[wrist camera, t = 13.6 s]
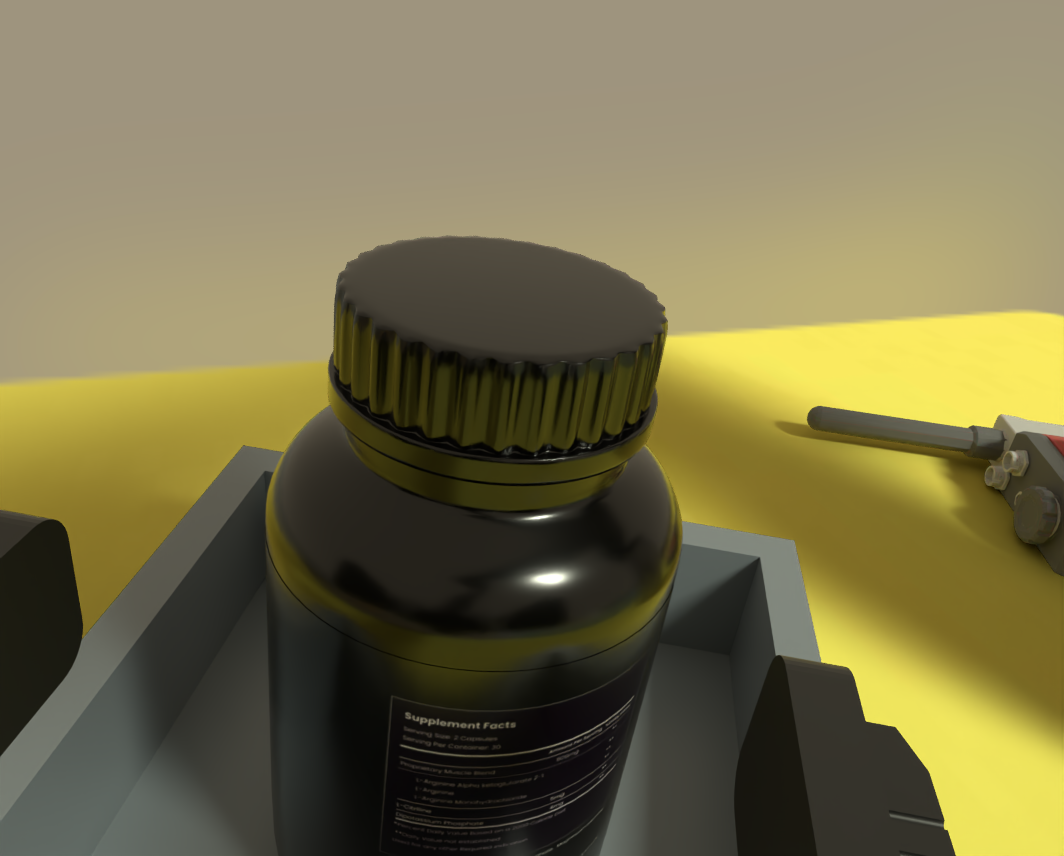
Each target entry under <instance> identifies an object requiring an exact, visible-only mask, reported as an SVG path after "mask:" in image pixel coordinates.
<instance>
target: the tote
mask: <svg viewBox="0 0 1064 856" xmlns="http://www.w3.org/2000/svg"><path fill="white" fill-rule="evenodd" d="M283 453H284V452H279V451H273V450H267V449H262V448H256V447H250V446H244V445H243V447H242V448H241V449H240V450H239V451H238V453H237V454H236V455H235V456H234V457H233V459H232V460H231V461H230V462H229V463H228V465H227V466H226V467H225V468H224V469H223V471H222V472H221V473H220V474H219V475H218V477H217V478H216V479H215V480H214V481H213V483H212V484H211V485H210V486H209V487H208V489H207V490H206V491H205V492H204V493H203V495H202V496H201V497H200V498H199V499H198V501H197V502H196V503H195V504H194V505H193V507H192V508H191V509H190V510H189V511H188V513H187V514H186V515H185V516H184V518H183V519H182V520H181V521H180V522H179V524H178V525H177V526H176V527H175V528H174V530H173V531H172V532H171V533H170V534H169V536H168V537H167V538H166V539H165V540H164V542H163V543H162V544H161V545H160V546H159V548H158V549H157V550H156V551H155V552H154V554H153V555H152V556H151V557H150V558H149V560H148V561H147V562H146V563H145V564H144V566H143V567H142V568H141V569H140V570H139V572H138V573H137V574H136V575H135V576H134V578H133V579H132V580H131V581H130V582H129V584H128V585H127V586H126V587H125V588H124V590H123V591H122V592H121V593H120V594H119V596H118V597H117V598H116V599H115V600H114V602H113V603H112V604H111V605H110V606H109V608H108V609H107V610H106V611H105V612H104V614H103V615H102V616H101V617H100V618H99V620H98V621H97V622H96V623H95V624H94V626H93V627H92V628H91V629H90V630H89V632H88V633H87V634H86V635H85V636H84V638H83V639H82V640H81V645H80V648H79V652H78V655H77V657H76V659H75V662H74V664H73V666H72V668H71V670H70V671H69V673H68V674H67V676H66V677H65V679H64V680H63V681H62V682H61V684H60V685H59V686H58V687H57V688H56V690H55V691H54V692H53V693H52V695H51V696H50V697H49V698H48V699H47V701H46V702H45V703H44V704H43V705H42V707H41V708H40V709H39V710H38V712H37V713H36V714H35V715H34V716H33V718H32V719H31V720H30V721H29V723H28V724H27V725H26V726H25V727H24V729H23V730H22V731H21V732H20V733H19V735H18V736H17V737H16V738H15V740H14V741H13V742H12V743H11V744H10V746H9V747H8V748H7V749H6V751H5V752H4V753H3V754H2V755H1V757H0V856H278V852H277V846H276V841H275V835H274V823H273V805H272V790H271V754H270V715H269V677H268V639H267V601H266V562H265V514H266V501H267V492H268V489H269V485H270V482H271V478H272V475H273V473H274V471H275V468H276V466H277V464H278V462H279V460H280V458H281V456H282V455H283ZM682 529H683V542H682V552H681V557H680V562H679V566H678V570H677V574H676V578H675V582H674V586H673V587H674V588H673V592H672V596H671V599H670V603H669V607H668V610H667V614H666V618H665V621H664V625H663V629H662V632H661V636H660V640H659V643H658V647H657V651H656V654H655V658H654V662H653V665H652V669H651V673H650V676H649V680H648V683H647V687H646V691H645V694H644V698H643V702H642V705H641V709H640V713H639V716H638V720H637V724H636V727H635V731H634V735H633V738H632V742H631V746H630V749H629V753H628V756H627V760H626V764H625V767H624V771H623V775H622V778H621V782H620V786H619V789H618V793H617V797H616V800H615V804H614V808H613V811H612V815H611V818H610V822H609V826H608V829H607V833H606V836H605V838H604V842H603V846H602V849H601V852H600V855H599V856H738V851H737V839H736V826H735V814H734V788H735V777H736V770H737V764H738V759H739V755H740V751H741V748H742V745H743V742H744V739H745V736H746V733H747V730H748V727H749V724H750V721H751V718H752V716H753V713H754V710H755V707H756V704H757V701H758V698H759V695H760V692H761V689H762V687H763V684H764V681H765V678H766V675H767V672H768V669H769V667H770V664H771V662H772V660H773V659H774V657H775V656H777V655H783V656H788V657H794V658H799V659H805V660H810V661H815V662H821V658H820V654H819V649H818V645H817V640H816V636H815V631H814V627H813V622H812V618H811V613H810V609H809V604H808V600H807V595H806V591H805V586H804V582H803V577H802V573H801V568H800V564H799V559H798V555H797V550H796V546H795V541H794V540H788V539H782V538H777V537H771V536H765V535H759V534H754V533H748V532H742V531H736V530H730V529H725V528H719V527H713V526H707V525H701V524H696V523H690V522H684V521H682Z"/></svg>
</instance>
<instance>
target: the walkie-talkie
mask: <svg viewBox="0 0 1064 856" xmlns="http://www.w3.org/2000/svg"><path fill="white" fill-rule="evenodd" d="M807 421H808V424H809V425H810V427H811V428H813V429H815V430H819V431H825V432H832V433H838V434H845V435H851V436H858V437H864V438H871V439H878V440H884V441H891V442H898V443H904V444H911V445H918V446H925V447H931V448H938V449H945V450H952V451H958V452H964V454H965V455H966V456H968V457H974V458H981V459H987V460H989V462H990V463H991V466H989V467H988V468H987V470H986V472H985V483H986V485H988V486H993V487H994V488H995V489H998V490H1000V492H1001V493H1002V495H1003V496H1004V498H1005V499H1006V501H1007V502H1008V504H1009V505H1010V507H1011V508H1012V510H1013V511H1014V528H1015V530H1016V533H1017V535H1018V537H1019V538H1020V539H1022V541H1023V542H1025V543H1029V544H1035V545H1037V547H1038V548H1039V550H1040V551H1041V553H1042V554H1043V556H1044V557H1045V559H1046V560H1047V562H1048V563H1049V565H1050V566H1051V568H1052V569H1053V571H1054V572H1055V573H1057V574H1059V575H1061V576H1064V426H1063V425H1056V424H1049V423H1043V422H1036V421H1029V420H1025V419H1022V418H1019V417H1015V416H1009V415H1002V414H1001V415H999V416H998V417H997V420H996V422H995V424H994V427H993V428H987V427H980V426H974V425H973V426H970V427H969V428H963V427H956V426H949V425H943V424H936V423H929V422H923V421H916V420H910V419H903V418H896V417H890V416H883V415H876V414H870V413H863V412H856V411H850V410H843V409H836V408H830V407H823V406H817V407H814V408H812V409H811V410H810V412H809V413H808V416H807Z"/></svg>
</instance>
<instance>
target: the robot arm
mask: <svg viewBox="0 0 1064 856" xmlns="http://www.w3.org/2000/svg"><path fill="white" fill-rule="evenodd" d="M82 633H83V622H82V615H81V609H80V603H79V597H78V591H77V586H76V580H75V574H74V568H73V562H72V556H71V550H70V544H69V539H68V535H67V531H66V529H65V527H64V526H63V525H62V523H60V522H59V521H57V520H54V519H48V518H43V517H37V516H32V515H26V514H21V513H16V512H10V511H5V510H0V757H1V755H2V754H3V753H4V752H5V751H6V749H7V748H8V747H9V746H10V744H11V743H12V742H13V741H14V740H15V738H16V737H17V736H18V735H19V733H20V732H21V731H22V730H23V729H24V727H25V726H26V725H27V724H28V723H29V721H30V720H31V719H32V718H33V716H34V715H35V714H36V713H37V712H38V710H39V709H40V708H41V707H42V705H43V704H44V703H45V702H46V701H47V699H48V698H49V697H50V696H51V695H52V693H53V692H54V691H55V690H56V688H57V687H58V686H59V685H60V684H61V682H62V681H63V680H64V679H65V677H66V676H67V674H68V673H69V671H70V670H71V668H72V666H73V664H74V662H75V659H76V657H77V655H78V652H79V648H80V645H81V640H82ZM734 814H735V826H736V839H737V851H738V856H956V855H955V852H954V849H953V845H952V842H951V839H950V836H949V833H948V830H944V817H943V814H942V811H941V808H940V805H939V802H938V799H937V796H936V792H935V789H934V786H933V783H932V780H931V777H930V774H929V771H928V770H927V769H926V767H925V766H924V765H923V763H922V762H921V761H920V759H919V758H918V757H917V755H916V754H915V753H914V751H913V750H912V749H911V747H910V746H909V745H908V743H907V742H906V741H905V739H904V738H903V737H902V735H901V734H900V733H899V731H898V730H897V729H896V727H892V726H886V725H881V724H876V723H870V722H866V721H865V717H864V714H863V710H862V706H861V702H860V698H859V694H858V690H857V687H856V683H855V679H854V676H853V674H852V672H851V671H850V670H849V668H847V667H843V666H837V665H832V664H826V663H821V662H815V661H810V660H805V659H799V658H794V657H788V656H783V655H777V656H775V657H774V659H773V660H772V662H771V664H770V667H769V669H768V672H767V675H766V678H765V681H764V684H763V687H762V689H761V692H760V695H759V698H758V701H757V704H756V707H755V710H754V713H753V716H752V718H751V721H750V724H749V727H748V730H747V733H746V736H745V739H744V742H743V745H742V748H741V751H740V755H739V759H738V764H737V770H736V777H735V788H734Z"/></svg>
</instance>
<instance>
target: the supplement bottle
mask: <svg viewBox="0 0 1064 856" xmlns="http://www.w3.org/2000/svg"><path fill="white" fill-rule="evenodd" d="M667 323H668V321H667V319H666V317H665V307H664V306H663V305H661V304H660V303H659V302H658V301H657V296H656V295H655V294H654V293H652V292H650V291H649V290H647V289H646V288H645V286H644V284H642V283H640V282H638V281H636V280H634V279H632V278H630V277H629V276H628V275H627V274H626V273H624V272H622V271H619V270H616V269H613V268H611V267H610V266H608V265H607V264H605V263H602V262H599V261H596V260H592V259H590V258H587V257H585V256H583V255H581V254H576V253H572V252H567V251H564V250H561V249H559V248H556V247H549V246H543V245H539V244H535V243H531V242H524V241H514V240H509V239H504V238H486V237H479V236H465V237H462V236H442V237H421V238H417V239H413V240H400V241H396V242H394V243H392V244H387V245H381V246H377V247H376V248H374V249H373V250H371V251H367V252H364V253H360V255H359V256H358V258H357V259H355V260H352V261H350V262H347V265H346V268H345V270H344V271H342V272H341V273H339V276H338V279H337V284H336V294H335V304H334V351H333V353H332V354H331V357H330V360H329V367H328V398H329V402H330V405H329V406H328V407H326V408H325V409H323V410H322V411H321V412H319V413H318V414H317V415H316V416H315V417H313V418H312V419H311V420H310V421H309V422H308V423H307V424H306V425H305V426H304V427H303V428H302V429H301V430H300V431H299V433H298V434H297V435H296V436H295V437H294V438H293V440H292V441H291V443H290V444H289V446H288V447H287V449H286V450H285V452H284V453H283V455H282V456H281V458H280V460H279V462H278V464H277V466H276V468H275V471H274V473H273V475H272V478H271V482H270V485H269V489H268V492H267V501H266V514H265V562H266V601H267V639H268V677H269V715H270V754H271V790H272V805H273V823H274V835H275V841H276V846H277V852H278V856H599V855H600V852H601V849H602V846H603V842H604V838H605V836H606V833H607V829H608V826H609V822H610V818H611V815H612V811H613V808H614V804H615V800H616V797H617V793H618V789H619V786H620V782H621V778H622V775H623V771H624V767H625V764H626V760H627V756H628V753H629V749H630V746H631V742H632V738H633V735H634V731H635V727H636V724H637V720H638V716H639V713H640V709H641V705H642V702H643V698H644V694H645V691H646V687H647V683H648V680H649V676H650V673H651V669H652V665H653V662H654V658H655V654H656V651H657V647H658V643H659V640H660V636H661V632H662V629H663V625H664V621H665V618H666V614H667V610H668V607H669V603H670V599H671V596H672V592H673V588H674V587H673V586H674V582H675V578H676V574H677V570H678V566H679V562H680V557H681V552H682V542H683V529H682V519H681V514H680V510H679V506H678V502H677V498H676V495H675V493H674V490H673V488H672V485H671V483H670V480H669V478H668V476H667V474H666V472H665V471H664V469H663V467H662V465H661V464H660V462H659V461H658V459H657V458H656V457H655V455H654V454H653V453H652V451H651V450H650V449H649V447H648V446H647V445H646V444H645V443H646V442H647V440H648V438H649V435H650V432H651V429H652V426H653V422H654V418H655V415H656V411H657V404H658V396H657V391H656V388H655V385H656V381H657V377H658V372H659V368H660V364H661V359H662V355H663V350H664V346H665V341H666V337H667V330H668V324H667Z"/></svg>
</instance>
